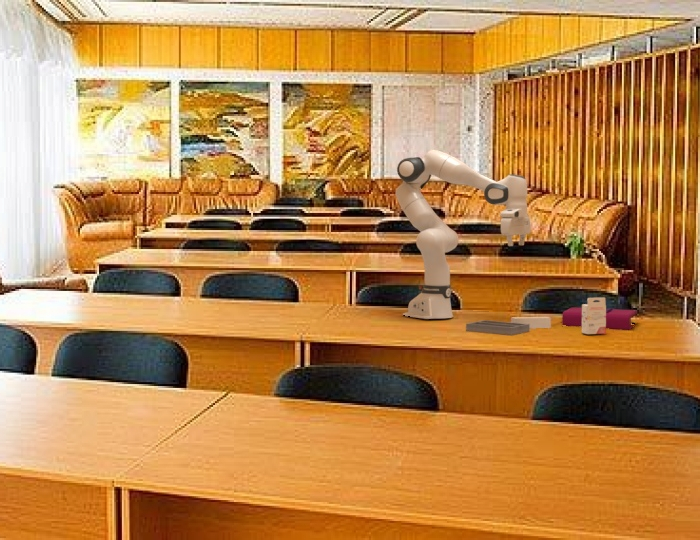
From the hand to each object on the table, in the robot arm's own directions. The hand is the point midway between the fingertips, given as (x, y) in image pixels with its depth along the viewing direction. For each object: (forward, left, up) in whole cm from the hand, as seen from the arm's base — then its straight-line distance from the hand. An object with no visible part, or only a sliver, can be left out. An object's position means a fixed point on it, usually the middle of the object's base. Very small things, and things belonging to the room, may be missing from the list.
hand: (515, 245), depth 451 cm
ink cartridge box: (+37, -2, -34) cm, 51 cm away
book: (+29, +21, -35) cm, 50 cm away
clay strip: (+11, -6, -34) cm, 37 cm away
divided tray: (+4, -21, -34) cm, 40 cm away
